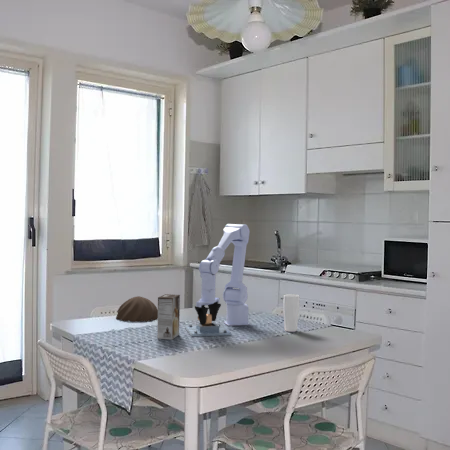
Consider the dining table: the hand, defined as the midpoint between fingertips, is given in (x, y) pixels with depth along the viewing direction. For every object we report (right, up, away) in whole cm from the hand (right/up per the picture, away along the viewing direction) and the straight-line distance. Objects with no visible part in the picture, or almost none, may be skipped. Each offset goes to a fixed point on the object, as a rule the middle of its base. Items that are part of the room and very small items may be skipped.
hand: (207, 322), depth 227 cm
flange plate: (0, -4, 0) cm, 4 cm away
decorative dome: (-33, -3, +28) cm, 43 cm away
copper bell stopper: (0, -3, 0) cm, 3 cm away
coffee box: (-15, -4, -11) cm, 19 cm away
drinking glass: (+35, -5, +5) cm, 35 cm away
